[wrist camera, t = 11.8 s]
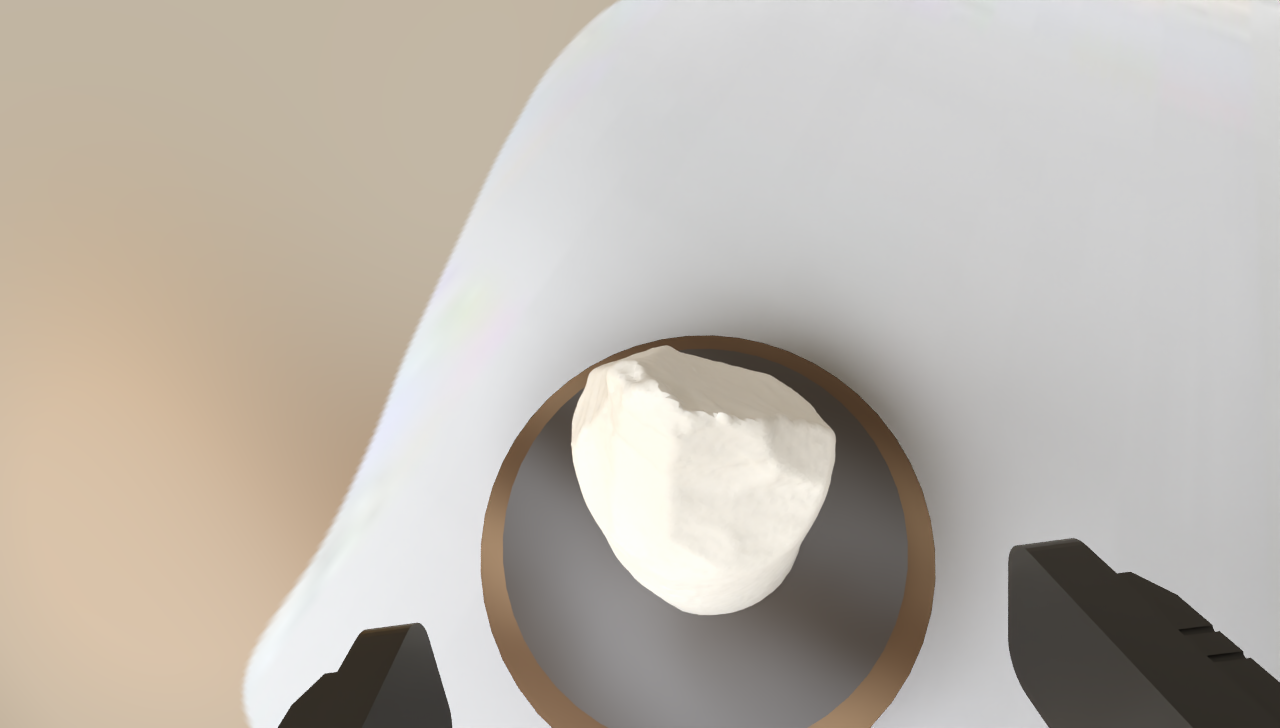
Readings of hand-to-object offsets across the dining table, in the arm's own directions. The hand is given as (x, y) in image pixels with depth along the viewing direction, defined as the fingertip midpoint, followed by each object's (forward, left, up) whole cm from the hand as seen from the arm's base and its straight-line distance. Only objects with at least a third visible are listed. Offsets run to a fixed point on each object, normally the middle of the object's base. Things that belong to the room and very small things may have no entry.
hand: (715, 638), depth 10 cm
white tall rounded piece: (-4, -2, -13) cm, 13 cm away
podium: (-4, -3, -17) cm, 18 cm away
